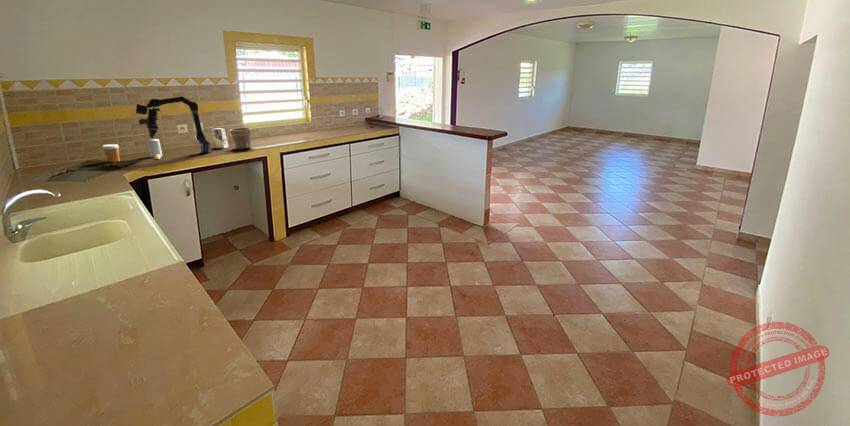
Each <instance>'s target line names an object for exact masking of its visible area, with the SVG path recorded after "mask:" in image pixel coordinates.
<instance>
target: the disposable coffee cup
mask: <svg viewBox="0 0 850 426" xmlns="http://www.w3.org/2000/svg"><path fill="white" fill-rule="evenodd" d="M102 149H103V151H104V153H105V157H106V158H107V161H108V163H111V162H112V163H118V162H117V161H119V162H120V161H121V160H120V150H119V145H118V144H117V143H112V144H110V143H109V144H104V145H102Z"/></svg>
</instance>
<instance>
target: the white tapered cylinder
mask: <svg viewBox="0 0 850 426" xmlns="http://www.w3.org/2000/svg"><path fill="white" fill-rule="evenodd" d="M147 143H148V147H149V151H150V157H151V158H155V156H156V155H160V158H161V157H163V152H162V146H161V143H160V139H158V138H157V139H156V138H155V139H153V138H152V139H148V140H147Z"/></svg>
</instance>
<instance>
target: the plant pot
mask: <svg viewBox="0 0 850 426" xmlns="http://www.w3.org/2000/svg"><path fill="white" fill-rule="evenodd" d="M229 131H230V135H232V140H233V144H234V147H235V149H236V150H246V149H245V148H249V149H251V148H252V144H251V127H236V128H230V129H229Z"/></svg>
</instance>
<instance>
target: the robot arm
mask: <svg viewBox="0 0 850 426" xmlns="http://www.w3.org/2000/svg"><path fill="white" fill-rule="evenodd" d="M180 102H181V103H183V104H185V105H187V107H188V108H189V111H190V112H191V114H192V118H193V122H194V127H195V131H196V133H195V134H194V138H195V140H196V141H197V142H198V143H199V144H200V146H199V148H200V154H210V153H212V152H213V150H212V149H211V144H210V143H211V142H209V141H208V140H207V139H206V136H205V134H204V133H203V129H202V125H201V121H200V117H199V105H198V103H197V102H195V101H191V100H190V99H187V98H186V97H184V96H182V95H180V96H175V97H167V98H150V99H149V101H148V103H147V104H146V105H141V104H138V103H137V104H136V107H135V114H136V115H143V116H146V115H147V118H140V119H137V121H138V124H139V125H140V126H141V125H145V126H146V128H147V130H148V134H149V137H150V138H151V139H153V138H154V137H155V135H156V134H157V132H158V130H159V126H158V116H159V114H158V113H159V112H162V109H160V107H161V106H164V105H168V104H174V103H180Z"/></svg>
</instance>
